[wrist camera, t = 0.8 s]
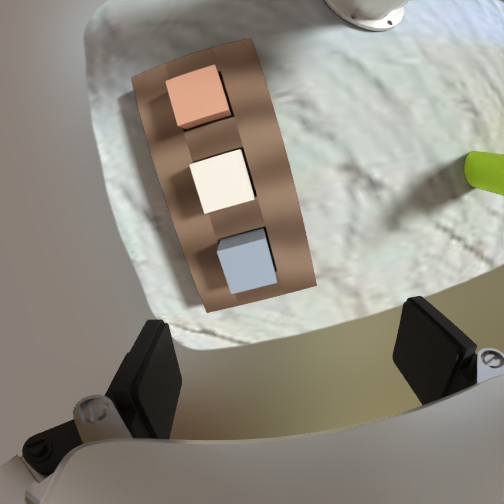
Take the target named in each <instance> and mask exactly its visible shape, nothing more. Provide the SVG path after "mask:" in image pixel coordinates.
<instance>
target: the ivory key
mask: <svg viewBox="0 0 504 504" xmlns="http://www.w3.org/2000/svg"><path fill="white" fill-rule="evenodd" d="M189 166H190V169H191V172H192V176H193V179H194V182H195V185H196V189H197V192H198V195H199V198H200V201H201V204H202V208H203V211H204V214H206V213H209V212H213V211H216V210H219V209H223V208H226V207H230V206H233V205H237V204H241V203H244V202H248V201H252V200H254V193H253V190H252V186H251V183H250V179H249V175H248V172H247V168H246V165H245V161H244V158H243V154H242V151H241V150H240V149H239V150H236V151H232V152H229V153H225V154H222V155H219V156H215V157H212V158H209V159H206V160H203V161H199V162H196V163H193V164H190V165H189Z"/></svg>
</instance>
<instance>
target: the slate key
mask: <svg viewBox="0 0 504 504" xmlns="http://www.w3.org/2000/svg"><path fill="white" fill-rule="evenodd" d="M217 254H218V257H219V260H220V262H221V265H222V268H223V271H224V274H225V277H226V280H227V283H228V286H229V289H230V292H231V294H234V293H238V292H242V291H246V290H250V289H254V288H258V287H262V286H266V285H270V284H274V283H277V280H276V275H275V270H274V266H273V262H272V259H271V255H270V251H269V248H268V244H267V240H266V236H265V233H264V229H263V228H262V229H258V230H254V231H251V232H247V233H243V234H240V235H236V236H232V237H228V238H225V239H221V240H220V243H219V246H218V249H217Z"/></svg>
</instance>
